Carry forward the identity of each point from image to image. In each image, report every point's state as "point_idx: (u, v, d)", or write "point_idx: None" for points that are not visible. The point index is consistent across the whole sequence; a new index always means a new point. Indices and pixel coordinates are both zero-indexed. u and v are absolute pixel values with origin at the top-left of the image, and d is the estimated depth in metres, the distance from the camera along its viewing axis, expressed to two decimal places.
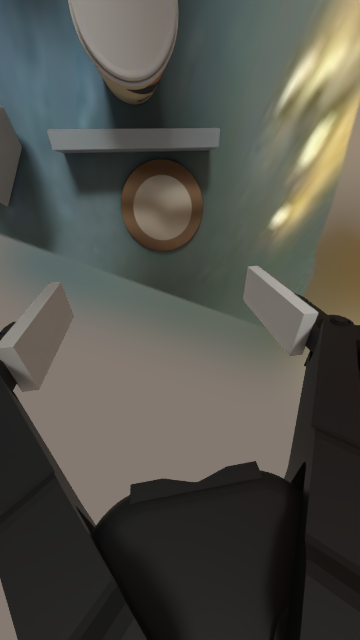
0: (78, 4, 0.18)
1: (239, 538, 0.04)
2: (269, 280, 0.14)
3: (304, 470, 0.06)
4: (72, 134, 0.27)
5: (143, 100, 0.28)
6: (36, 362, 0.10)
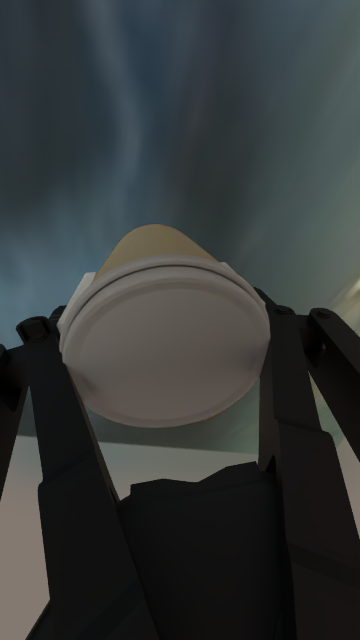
0: (83, 382, 0.09)
1: (239, 538, 0.04)
2: None
3: (274, 462, 0.06)
4: None
5: None
6: None
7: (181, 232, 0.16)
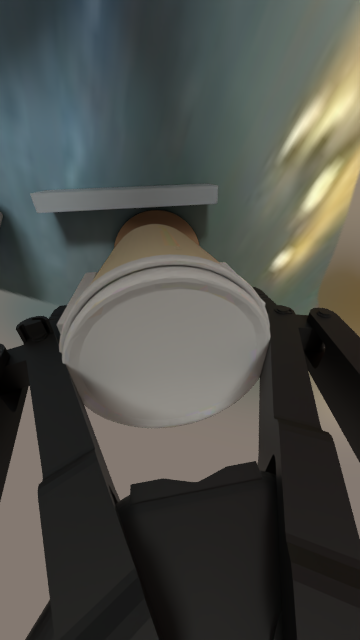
0: (83, 383, 0.09)
1: (239, 538, 0.04)
2: None
3: (274, 462, 0.06)
4: (58, 197, 0.25)
5: None
6: None
7: (181, 232, 0.16)
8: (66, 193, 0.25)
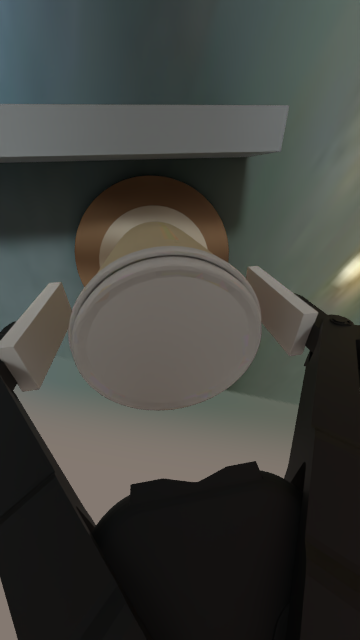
0: (89, 365, 0.10)
1: (239, 538, 0.04)
2: (269, 280, 0.14)
3: (304, 470, 0.06)
4: None
5: None
6: (36, 362, 0.10)
7: None
8: None
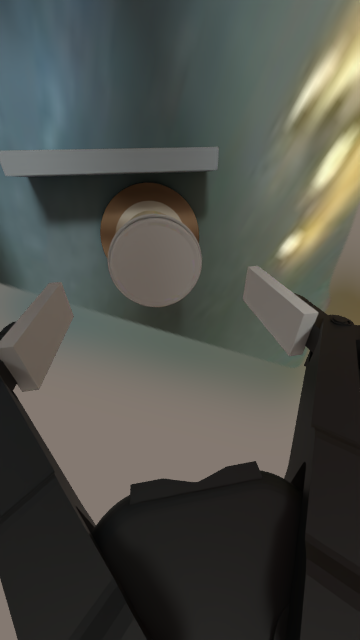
0: (117, 272, 0.21)
1: (239, 538, 0.04)
2: (269, 280, 0.14)
3: (304, 470, 0.06)
4: (29, 156, 0.21)
5: None
6: (36, 362, 0.10)
7: None
8: (39, 151, 0.21)
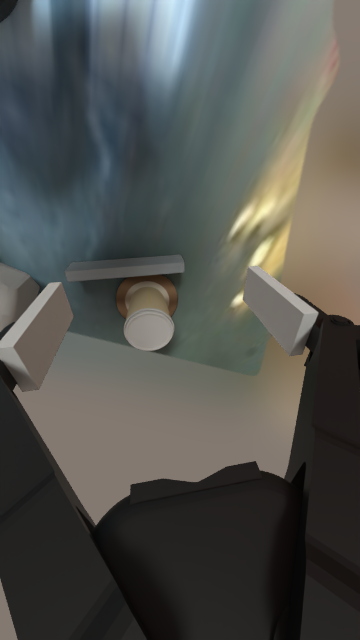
0: (128, 335, 0.39)
1: (239, 538, 0.04)
2: (269, 280, 0.14)
3: (304, 470, 0.06)
4: (81, 272, 0.39)
5: None
6: (36, 362, 0.10)
7: (155, 290, 0.46)
8: (86, 270, 0.39)
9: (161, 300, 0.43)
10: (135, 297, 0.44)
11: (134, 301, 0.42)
